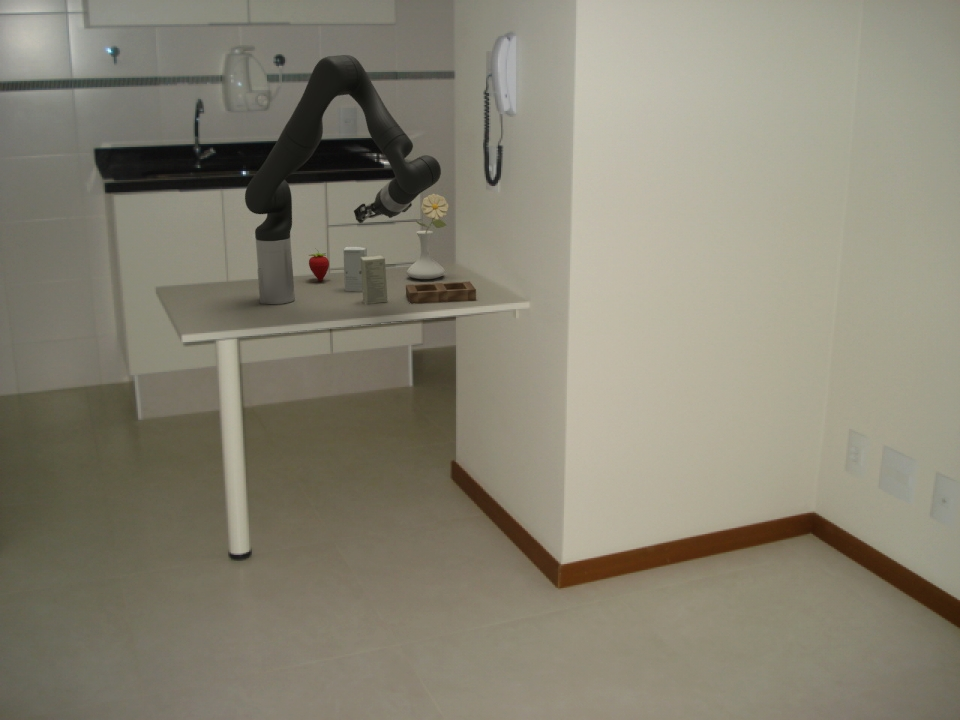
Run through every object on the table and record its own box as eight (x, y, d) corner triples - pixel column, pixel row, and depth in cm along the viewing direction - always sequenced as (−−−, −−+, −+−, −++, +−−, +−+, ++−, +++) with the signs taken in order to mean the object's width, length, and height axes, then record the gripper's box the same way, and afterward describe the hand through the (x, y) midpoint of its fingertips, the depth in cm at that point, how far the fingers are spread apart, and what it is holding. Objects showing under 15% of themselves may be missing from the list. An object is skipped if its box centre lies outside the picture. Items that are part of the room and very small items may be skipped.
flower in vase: (403, 281, 294) (400, 196, 287) (410, 273, 305) (407, 191, 298) (447, 282, 293) (445, 196, 286) (452, 274, 304) (450, 191, 297)
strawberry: (313, 284, 292) (311, 250, 290) (307, 279, 299) (305, 246, 296) (333, 282, 295) (331, 249, 292) (326, 277, 301) (324, 244, 298)
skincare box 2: (384, 298, 275) (383, 255, 271) (387, 302, 271) (385, 258, 267) (362, 300, 273) (359, 256, 270) (364, 304, 269) (362, 259, 265)
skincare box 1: (344, 291, 283) (342, 249, 280) (347, 288, 288) (345, 246, 284) (366, 291, 283) (364, 249, 279) (368, 288, 287) (366, 246, 284)
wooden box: (409, 303, 269) (409, 293, 268) (406, 295, 278) (405, 284, 277) (476, 300, 272) (475, 289, 271) (470, 291, 281) (469, 281, 280)
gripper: (416, 178, 253) (394, 199, 268) (364, 186, 247) (345, 207, 261) (424, 206, 253) (402, 226, 267) (373, 215, 246) (353, 235, 261)
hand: (374, 216), depth 264 cm, fingers open, 8 cm apart
